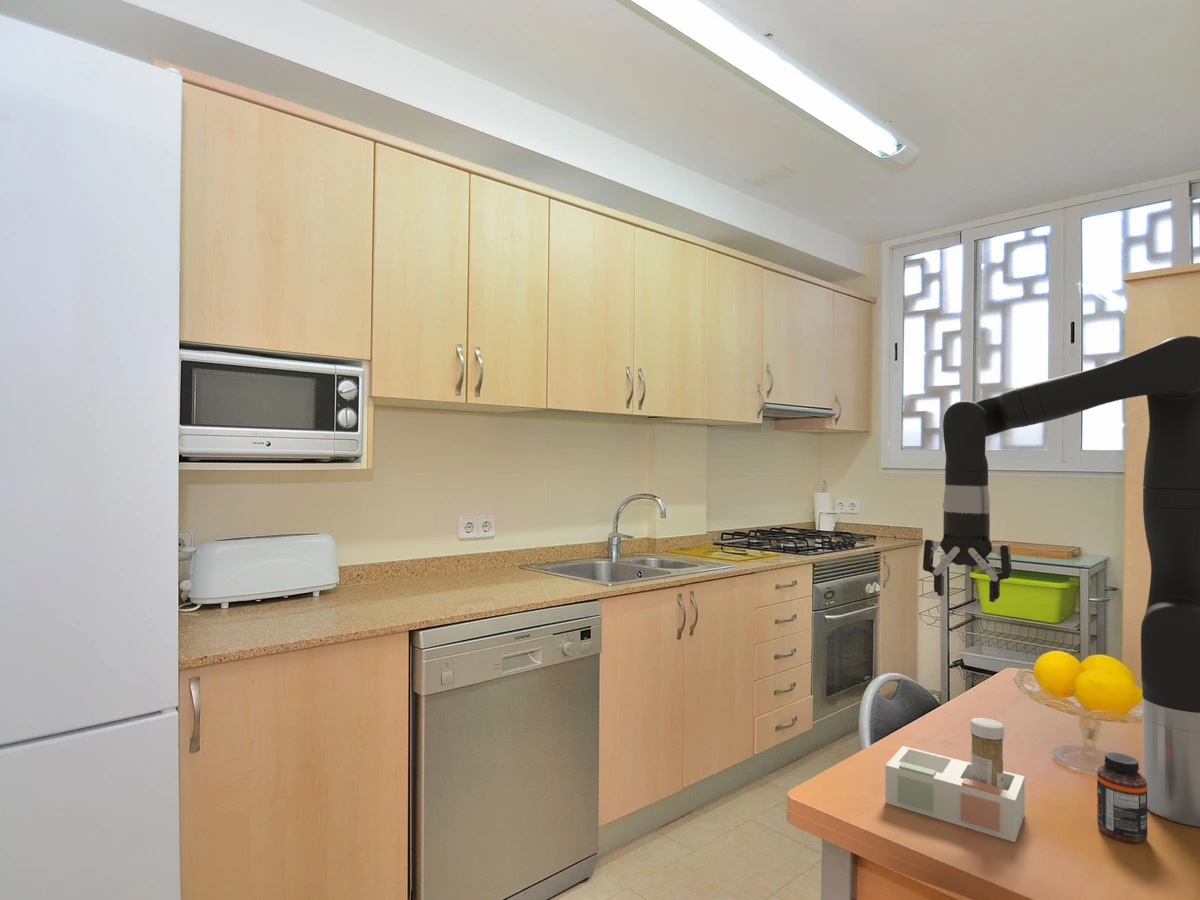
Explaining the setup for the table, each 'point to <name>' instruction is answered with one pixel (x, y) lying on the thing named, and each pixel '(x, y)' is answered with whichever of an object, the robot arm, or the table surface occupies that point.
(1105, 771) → the supplement bottle
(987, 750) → the spice jar
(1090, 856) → the table surface
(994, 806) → the socket block
